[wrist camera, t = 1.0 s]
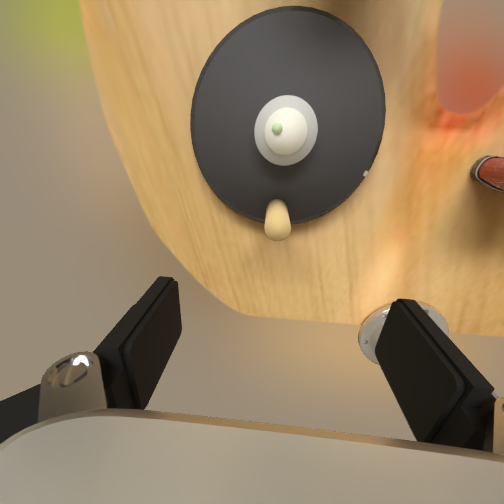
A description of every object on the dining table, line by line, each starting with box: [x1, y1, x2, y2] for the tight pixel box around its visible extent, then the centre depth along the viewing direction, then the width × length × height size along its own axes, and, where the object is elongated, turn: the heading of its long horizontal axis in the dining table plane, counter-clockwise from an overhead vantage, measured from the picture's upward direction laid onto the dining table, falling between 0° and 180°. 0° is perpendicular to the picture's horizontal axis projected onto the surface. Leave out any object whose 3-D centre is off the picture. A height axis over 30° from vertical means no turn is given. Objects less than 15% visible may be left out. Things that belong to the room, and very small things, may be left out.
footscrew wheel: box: [194, 10, 383, 241], centre depth 22 cm, size 19×19×8 cm
